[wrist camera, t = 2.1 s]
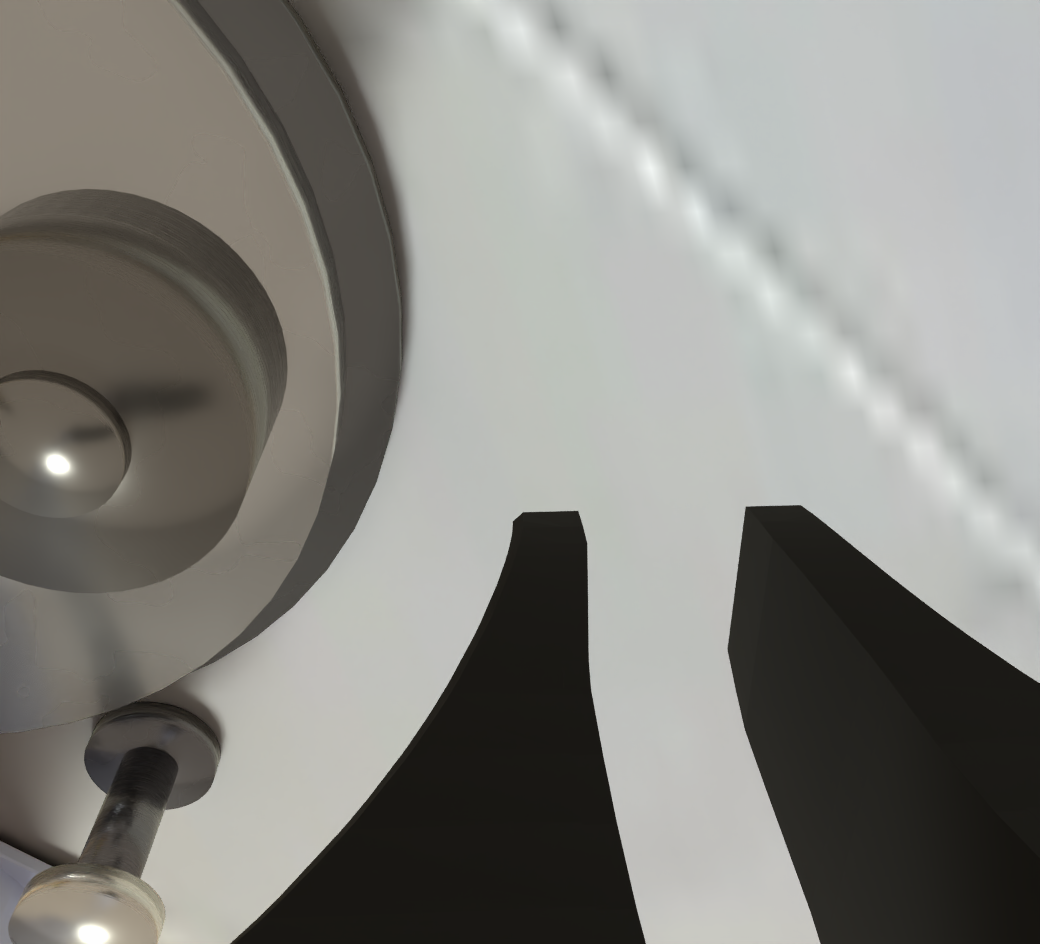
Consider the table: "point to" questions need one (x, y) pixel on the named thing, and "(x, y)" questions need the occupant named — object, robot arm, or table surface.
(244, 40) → the turntable base
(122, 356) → the cover
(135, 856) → the small grey dumbbell
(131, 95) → the turntable
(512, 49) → the table surface
